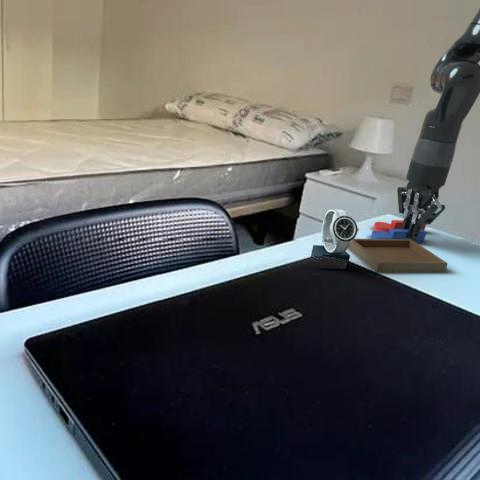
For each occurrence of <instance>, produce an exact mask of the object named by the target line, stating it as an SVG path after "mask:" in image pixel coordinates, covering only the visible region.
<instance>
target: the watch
mask: <svg viewBox="0 0 480 480" xmlns="http://www.w3.org/2000/svg"><path fill="white" fill-rule="evenodd" d="M359 231H360V229H359V227H358V224H357V222H356V220H355V219H354V218H353V216H352V215H351V213H348V211H346V210H345V209H336V208H335V209H333V208H331V209H328V210H327V211H326V213H325V215H324V217H323V221H322V223H321V235H320V237H321V242H322V243H323V245H322V244H321V245H320V244H319V245H318V244H313V245H312V248H311V254H310V258H311V257H313V256H322V257H323V256H329V257H337V258H341V259H344V260H346V261H349V262H350V259H351V254H349V253H348V252H347V250H348V247H349V245H351V244H352V242H353V239H356V238H357V235H358V232H359Z"/></svg>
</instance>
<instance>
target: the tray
mask: <svg viewBox="0 0 480 480" xmlns="http://www.w3.org/2000/svg"><path fill="white" fill-rule="evenodd" d="M347 250H349V251H350V252H351V253H353V254H354V255H355V256H356V257H357V258H358V259H359V260H361V261H362V262H363V263H364V264H366V265H367V266H368V267H369V268H371V270H373V271H374V272H375V273H446V270H447V266H448V262H446V261H445V260H443V259H442V258H440V257H439V256H438V255H436V254H435V253H433V252H432V251H430V250H428V249H427V248H425V247H424V246H422V245H420V244H419V243H418V242H414V241H413V240H411V239H370V238H354V239H353V242H352V244H351V245H349V247H348V248H347Z"/></svg>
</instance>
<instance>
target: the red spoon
mask: <svg viewBox="0 0 480 480" xmlns="http://www.w3.org/2000/svg"><path fill="white" fill-rule="evenodd" d="M403 221H404V219H392V220H391V221H390V223H389V222H386V221H375V222H374V225H373V228H372V231H384V232H387V233H389V231H390V229H401V228H402V224H403ZM426 227H427V224H423V225H422V227H421V229H422V230H424V231H425V230H426Z"/></svg>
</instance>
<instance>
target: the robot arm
mask: <svg viewBox="0 0 480 480" xmlns="http://www.w3.org/2000/svg"><path fill="white" fill-rule="evenodd" d="M429 84H430V87H431V89H432V91H433V92H435V93H436V94H437V95H440V97H439V100H438V102H437V104H436V106H435V108H432V109H429V110H428V111H427V112H426V114H425V116H424V119H423V121H422V125H421V127H420V132H419V136H418V138H417V141H416V143H415V146H414V149H413V152H412V155H411V159H410V162H409V165H408V170H407V171H406V172H407V173H406V177H405V178H406V181H408V182H407V183H406V185H405V186H398V187H397V190H396V193H397V204H398V213H399V214H402V218H403V220H404V221H403V224H402V228H401V229H409V230H408V234H407V239H411V240H416V239H417V238H418V237H419V233H420V230H421V227H422V225H423V224H426V225H431V224H432V223H434V221H435V220H436V219H437V218H438V217H439V216H440V215H441V214H442V213H443V212H445V209H446V205H445V204H441V203H440V201H439V198H440V194H439V193H440V189H441V188H442V187H444V186H445V185H446V183H447V180H448V176H449V173H450V170H451V167H452V164H453V160H454V157H455V155H456V154H455V153H456V148H457V144H458V140H459V137H460V135H461V131H462V128H463V123H464V121H465V119H466V118H467V117H468V115H469V113H470V111H471V110H472V108H473V107H474V105H475V103H476V102H477V100H478V99H479V96H480V8H479V9H478V11H477V12H476V13H475V15H474V16H473V18H472V20H471V21H470V22H469V24H468V26H467V27H466V29H465V31H464V32H463V34H462V35H461V36H460V37H458V38H457V40H456V41H454V43H453V44H452V45H451V46H450V47H449V48H448V49H447V50H446V51H445V53H444V54H443V55H442V56H441V57H440V58H439V60H438V61H437V63H436V64H435V66H434V67H433V69H432V71H431V73H430V78H429Z"/></svg>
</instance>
